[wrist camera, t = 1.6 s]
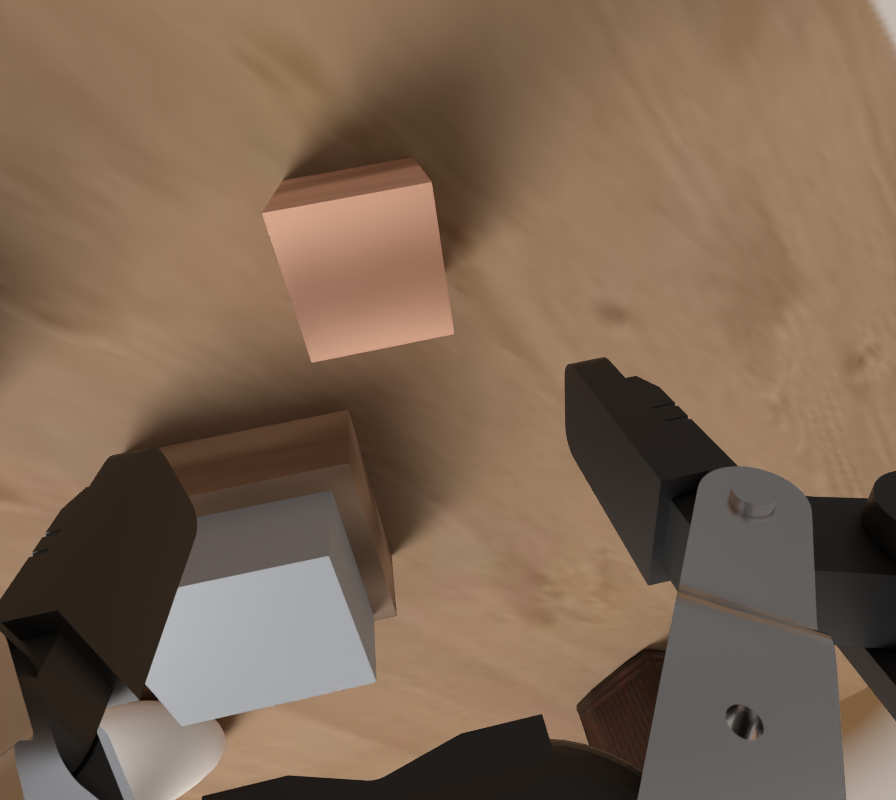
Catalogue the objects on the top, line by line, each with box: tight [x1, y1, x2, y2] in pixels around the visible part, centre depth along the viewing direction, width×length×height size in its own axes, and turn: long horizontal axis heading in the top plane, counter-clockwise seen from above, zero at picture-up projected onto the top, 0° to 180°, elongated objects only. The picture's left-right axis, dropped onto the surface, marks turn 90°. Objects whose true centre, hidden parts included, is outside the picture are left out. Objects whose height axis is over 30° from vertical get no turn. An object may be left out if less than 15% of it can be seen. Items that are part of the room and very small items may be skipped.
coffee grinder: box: [577, 651, 666, 771], centre depth 41 cm, size 16×11×18 cm
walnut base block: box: [158, 410, 397, 621], centre depth 29 cm, size 12×12×5 cm
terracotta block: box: [262, 157, 454, 363], centre depth 20 cm, size 6×6×6 cm
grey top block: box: [145, 490, 376, 726], centre depth 25 cm, size 10×10×4 cm
